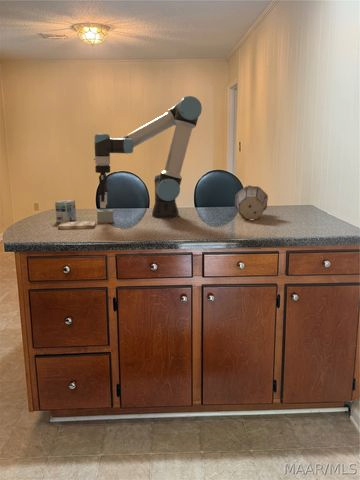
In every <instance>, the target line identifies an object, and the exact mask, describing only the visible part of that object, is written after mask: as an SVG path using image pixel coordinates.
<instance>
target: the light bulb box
mask: <svg viewBox="0 0 360 480" xmlns="http://www.w3.org/2000/svg"><path fill="white" fill-rule="evenodd" d="M54 204H55V205H54V206H55V207H54V208H55V218H56V219H55V220H56V223H61V222H75V221H76V220H77V213H76V212H77V211H76V210H77V209H76V200H74V199H63V200H58V201H55V202H54Z"/></svg>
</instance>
